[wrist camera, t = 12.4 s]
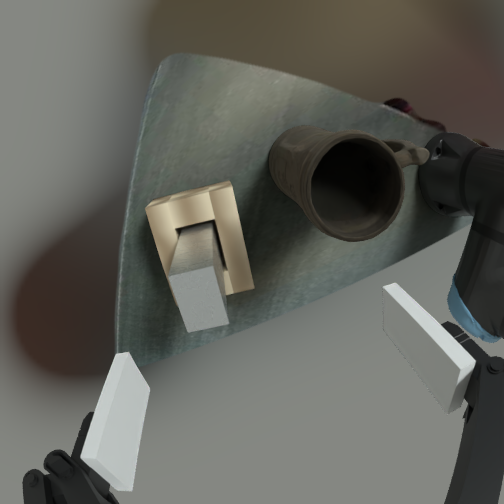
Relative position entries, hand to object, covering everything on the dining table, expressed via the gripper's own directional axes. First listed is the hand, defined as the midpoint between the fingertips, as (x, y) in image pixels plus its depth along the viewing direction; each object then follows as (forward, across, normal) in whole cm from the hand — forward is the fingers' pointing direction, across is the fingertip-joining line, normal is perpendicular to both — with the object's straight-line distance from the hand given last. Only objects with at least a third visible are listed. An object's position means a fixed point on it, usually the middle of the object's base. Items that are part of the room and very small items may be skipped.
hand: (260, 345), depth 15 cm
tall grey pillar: (+30, +5, +3) cm, 31 cm away
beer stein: (+32, -13, -4) cm, 35 cm away
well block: (+31, +5, +3) cm, 32 cm away
